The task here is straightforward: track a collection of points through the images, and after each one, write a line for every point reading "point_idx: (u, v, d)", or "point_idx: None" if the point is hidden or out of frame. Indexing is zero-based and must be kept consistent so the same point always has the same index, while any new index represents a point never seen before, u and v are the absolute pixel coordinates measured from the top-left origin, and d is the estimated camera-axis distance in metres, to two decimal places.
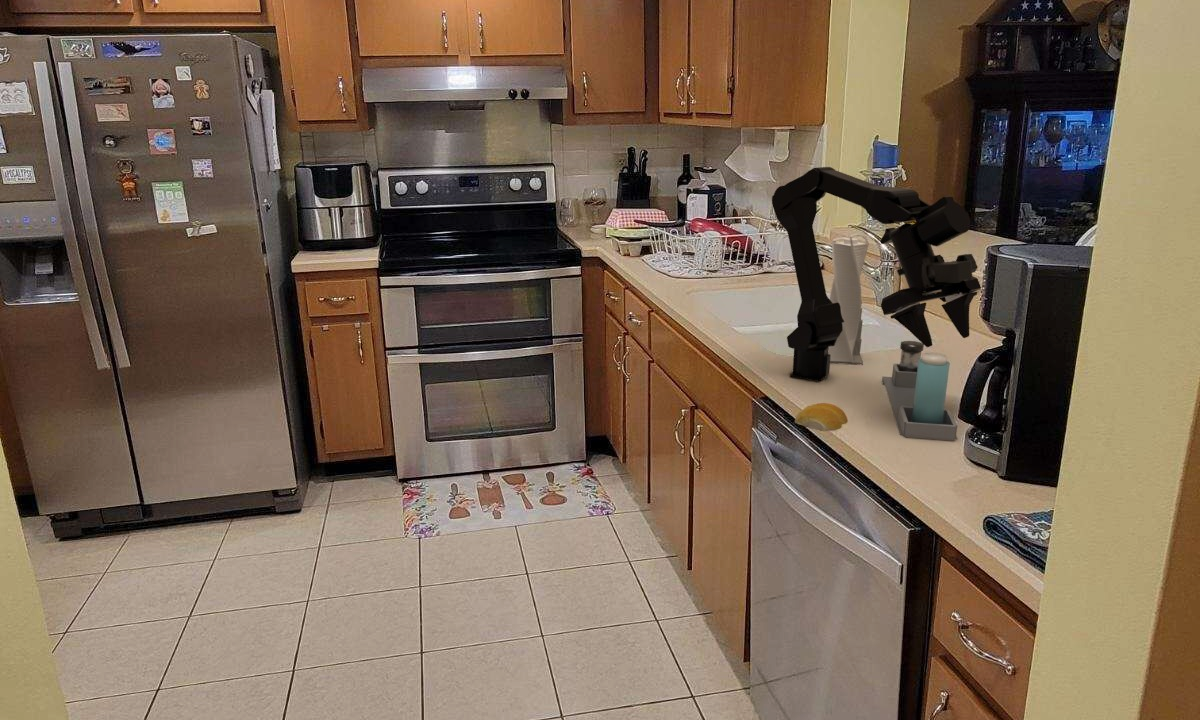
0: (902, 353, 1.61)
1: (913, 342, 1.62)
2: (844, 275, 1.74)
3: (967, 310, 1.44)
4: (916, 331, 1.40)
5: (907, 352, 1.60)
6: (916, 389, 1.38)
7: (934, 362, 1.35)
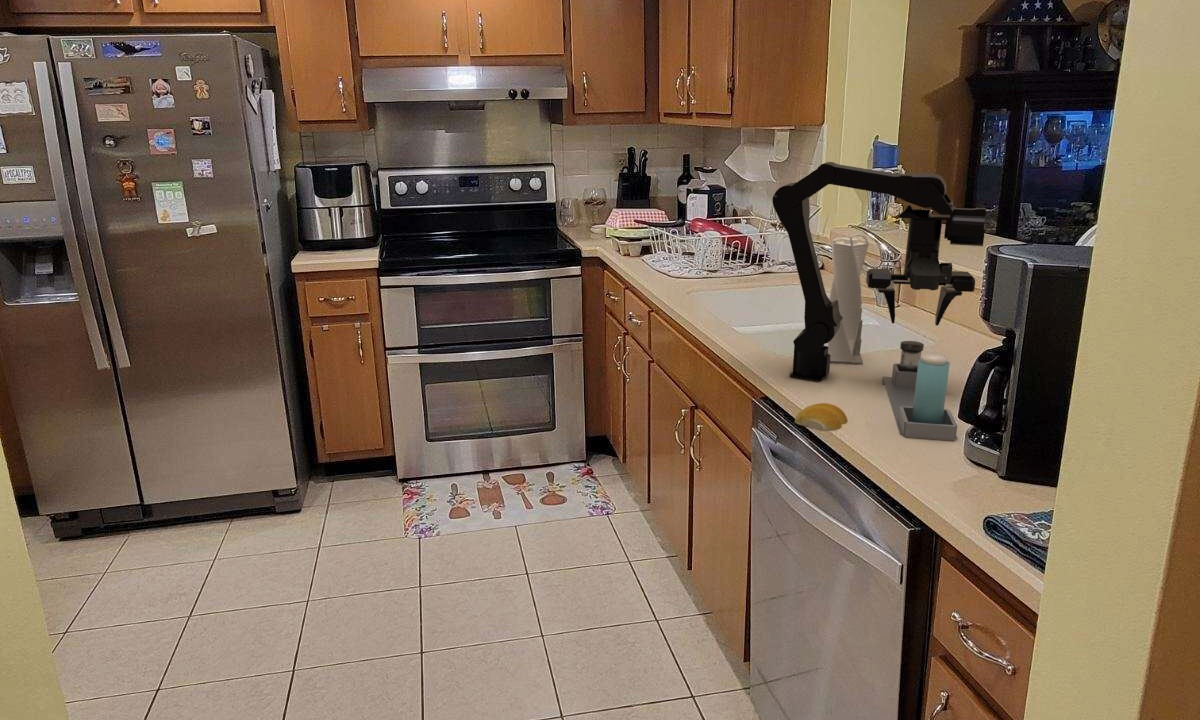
0: (902, 353, 1.61)
1: (913, 342, 1.62)
2: (844, 275, 1.74)
3: (946, 304, 1.56)
4: (888, 306, 1.60)
5: (907, 352, 1.60)
6: (916, 389, 1.38)
7: (934, 362, 1.35)
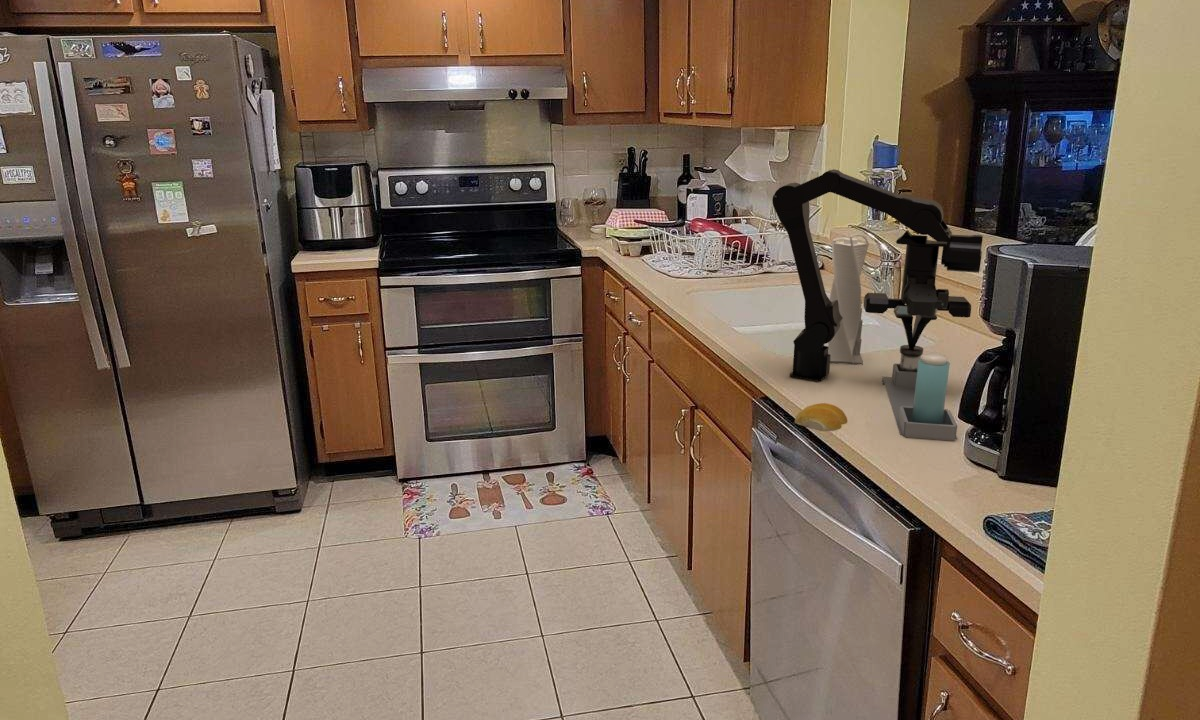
0: (902, 357, 1.62)
1: None
2: (844, 275, 1.74)
3: (921, 328, 1.58)
4: (905, 331, 1.61)
5: (907, 356, 1.60)
6: (916, 389, 1.38)
7: (934, 362, 1.35)
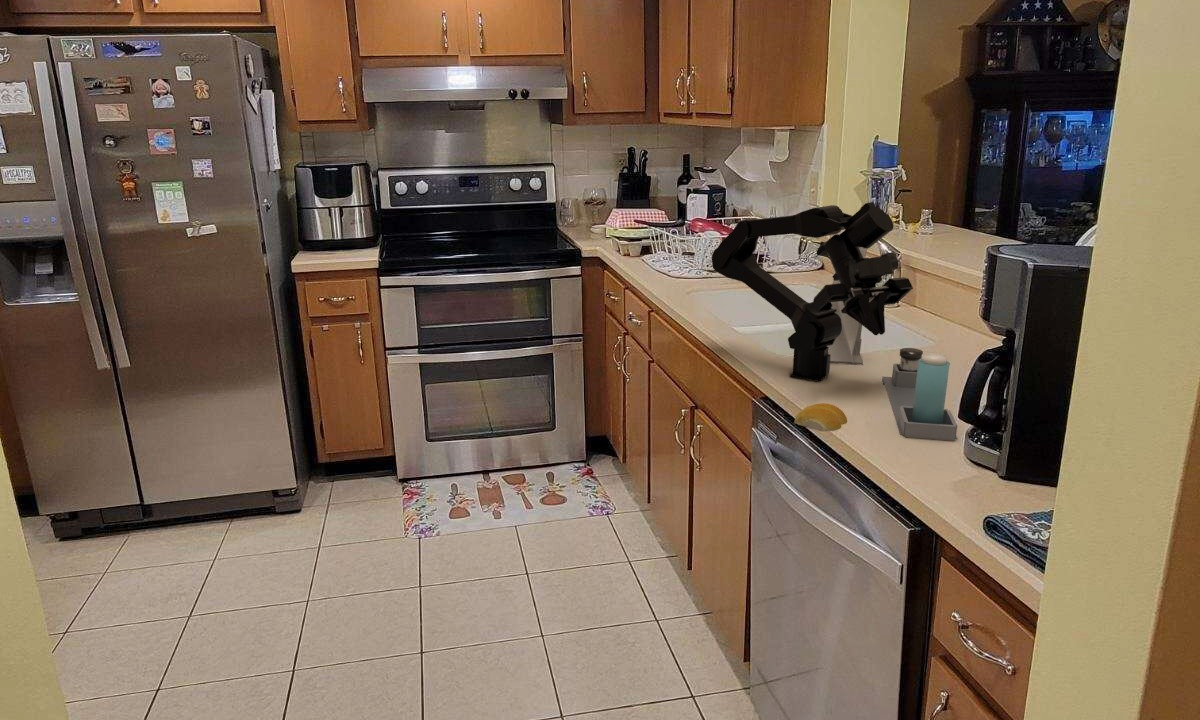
0: (901, 360, 1.62)
1: (912, 349, 1.62)
2: None
3: (882, 309, 1.53)
4: (864, 321, 1.53)
5: (906, 359, 1.60)
6: (916, 389, 1.38)
7: (934, 362, 1.35)
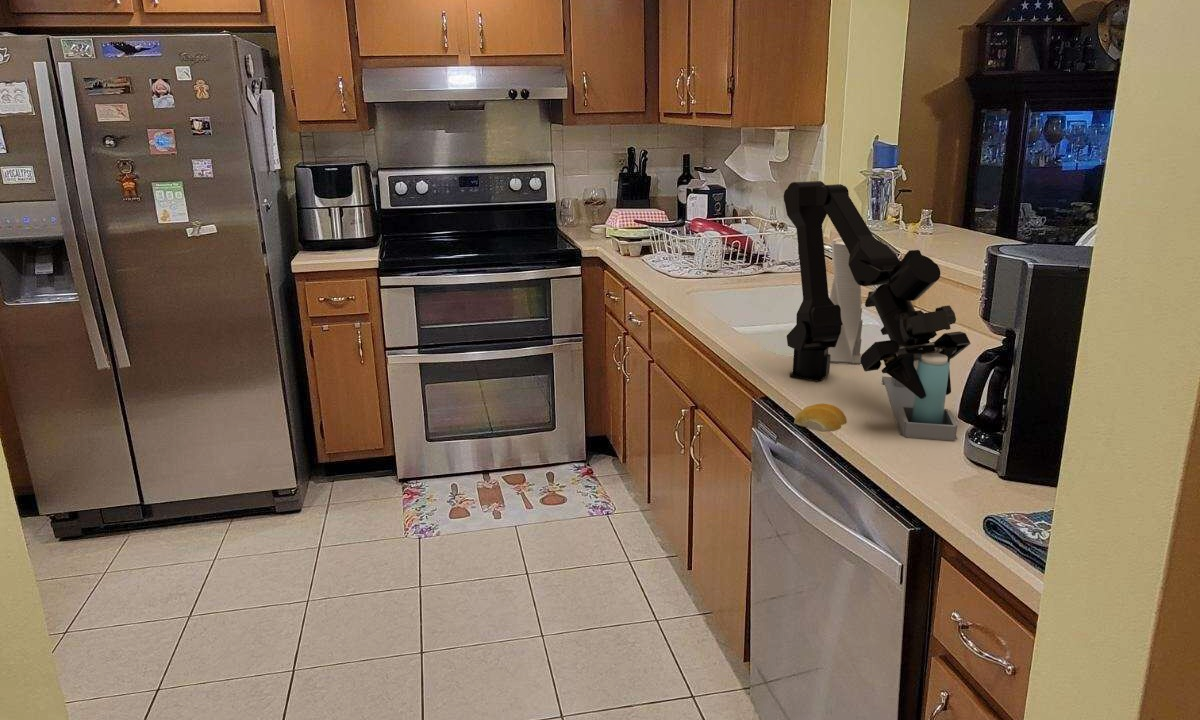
0: None
1: None
2: (844, 275, 1.74)
3: None
4: (908, 383, 1.38)
5: None
6: None
7: (934, 362, 1.35)
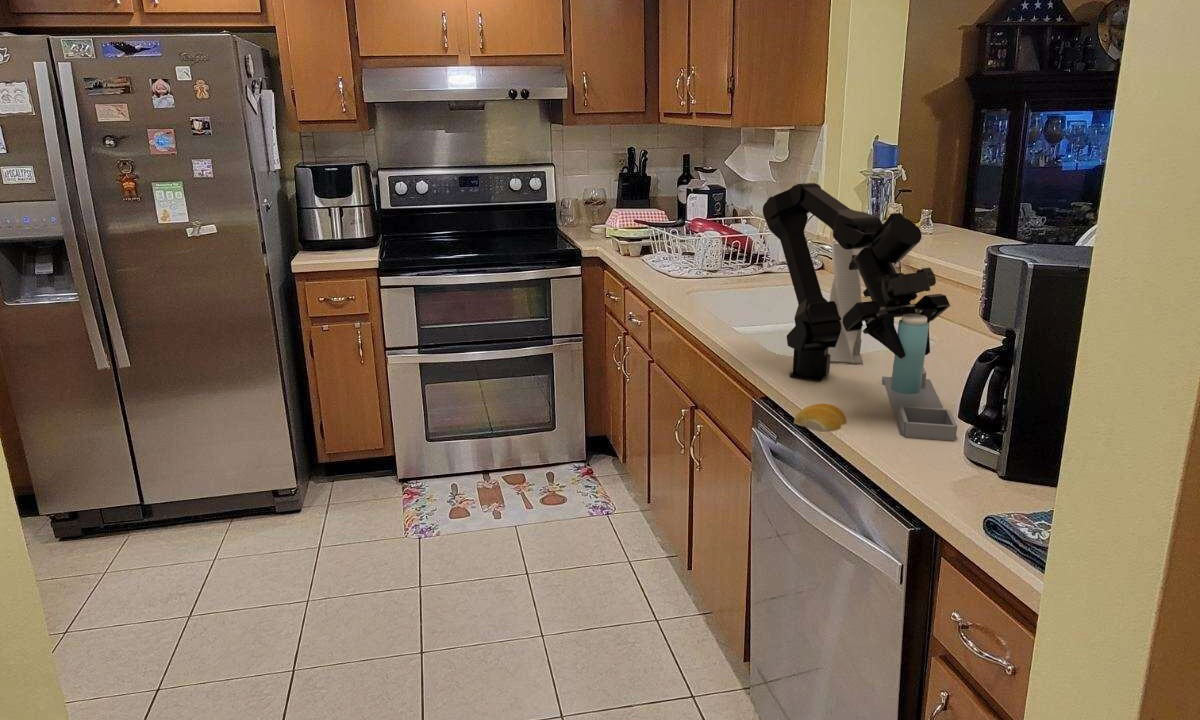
0: None
1: None
2: (844, 275, 1.74)
3: None
4: (888, 343, 1.41)
5: None
6: None
7: (914, 322, 1.38)
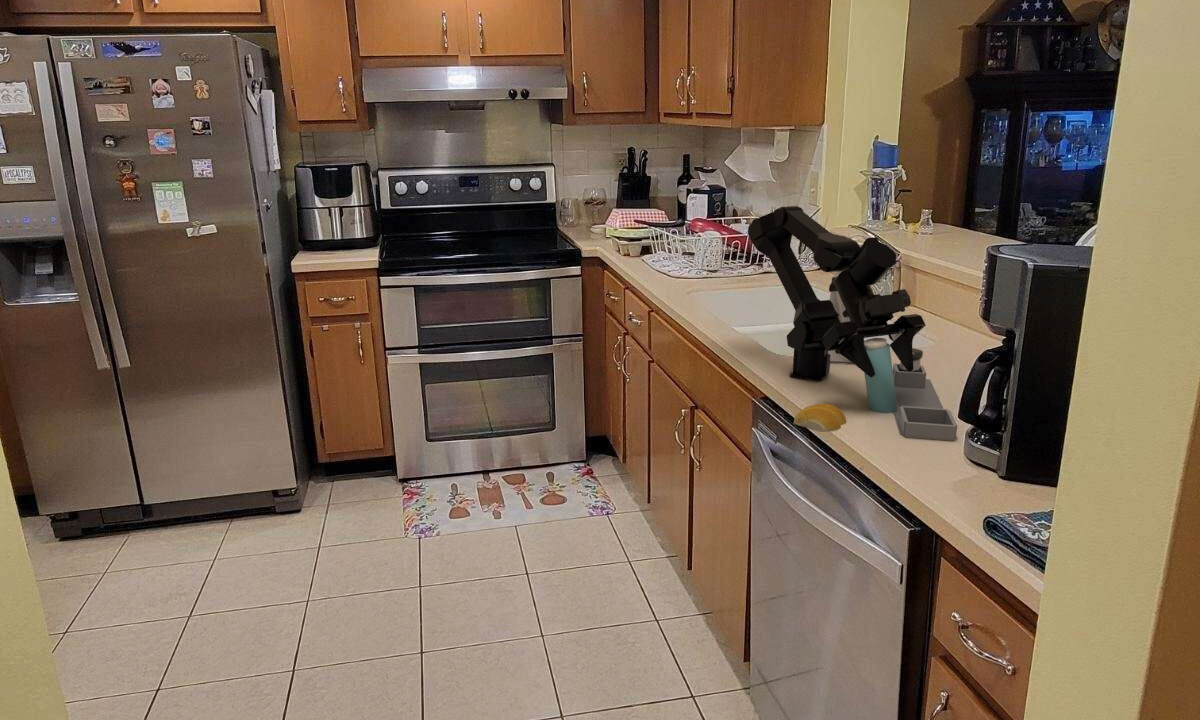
0: None
1: (912, 349, 1.62)
2: None
3: (910, 345, 1.49)
4: (859, 363, 1.47)
5: None
6: (865, 374, 1.49)
7: (874, 347, 1.45)
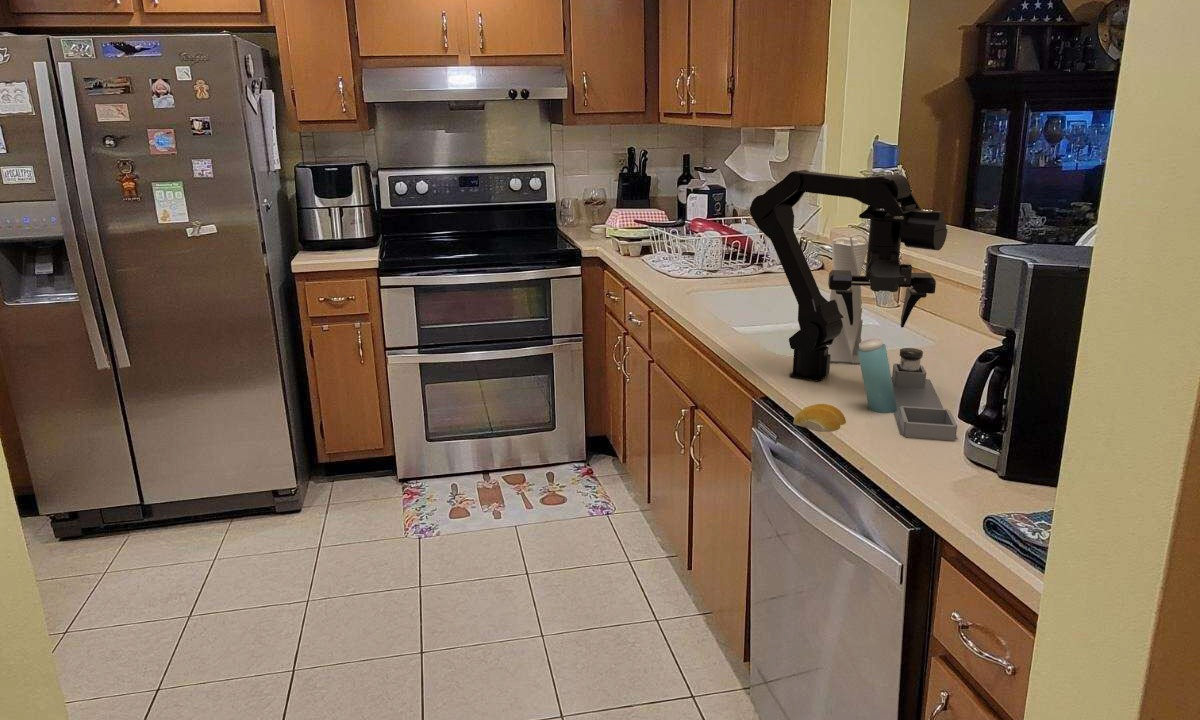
0: (901, 360, 1.62)
1: (912, 349, 1.62)
2: None
3: (910, 306, 1.55)
4: None
5: (906, 359, 1.60)
6: (863, 376, 1.49)
7: (870, 348, 1.46)
